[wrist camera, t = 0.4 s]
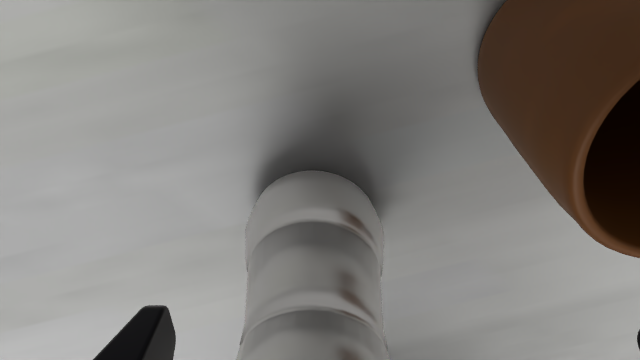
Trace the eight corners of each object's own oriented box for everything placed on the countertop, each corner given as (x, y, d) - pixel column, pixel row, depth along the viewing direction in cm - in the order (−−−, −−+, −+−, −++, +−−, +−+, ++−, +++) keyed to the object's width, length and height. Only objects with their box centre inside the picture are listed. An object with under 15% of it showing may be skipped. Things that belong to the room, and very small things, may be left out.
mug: (691, 152, 23) (887, 293, 15) (538, 220, 25) (640, 375, 17) (629, -88, 18) (879, -68, 10) (442, 23, 20) (524, 114, 12)
